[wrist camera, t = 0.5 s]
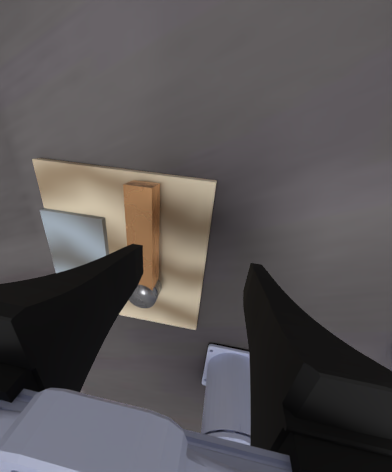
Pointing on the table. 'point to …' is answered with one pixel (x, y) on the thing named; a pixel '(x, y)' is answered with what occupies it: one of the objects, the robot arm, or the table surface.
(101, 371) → the table surface
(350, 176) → the table surface
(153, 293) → the bar
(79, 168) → the door frame board
